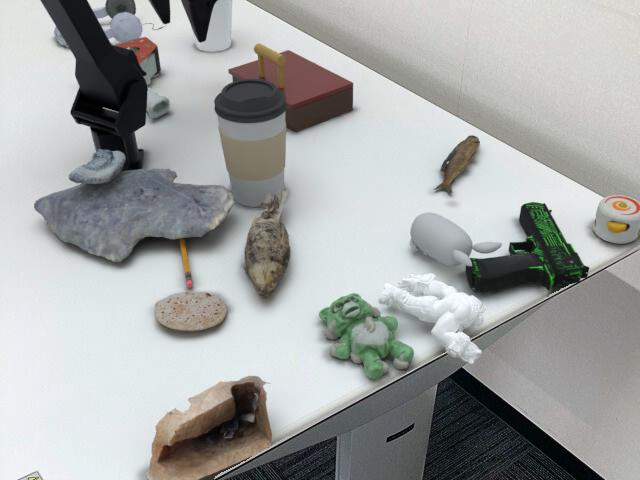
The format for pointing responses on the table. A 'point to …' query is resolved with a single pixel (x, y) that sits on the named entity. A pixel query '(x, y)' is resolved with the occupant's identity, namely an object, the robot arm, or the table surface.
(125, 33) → the headphones
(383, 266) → the table surface
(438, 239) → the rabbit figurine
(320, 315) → the stuffed animal
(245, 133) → the coffee cup
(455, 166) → the fish
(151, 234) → the flat rock
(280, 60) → the cover
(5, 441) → the table surface
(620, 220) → the roller toy
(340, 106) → the hinged lid box
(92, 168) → the fossil
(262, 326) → the table surface
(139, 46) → the tape dispenser
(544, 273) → the handgun
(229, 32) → the foam cup
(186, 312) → the flatbread
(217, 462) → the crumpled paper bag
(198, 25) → the robot arm
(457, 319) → the figurine
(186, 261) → the pencil
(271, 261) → the bird model
